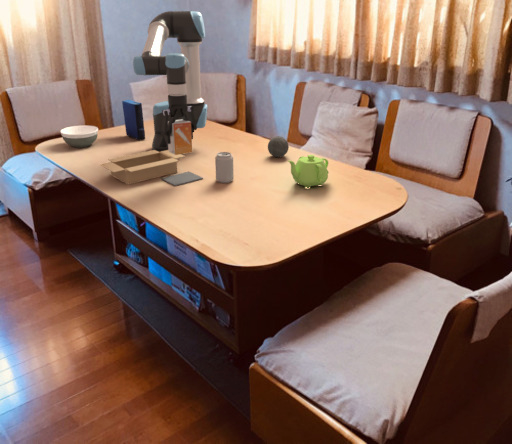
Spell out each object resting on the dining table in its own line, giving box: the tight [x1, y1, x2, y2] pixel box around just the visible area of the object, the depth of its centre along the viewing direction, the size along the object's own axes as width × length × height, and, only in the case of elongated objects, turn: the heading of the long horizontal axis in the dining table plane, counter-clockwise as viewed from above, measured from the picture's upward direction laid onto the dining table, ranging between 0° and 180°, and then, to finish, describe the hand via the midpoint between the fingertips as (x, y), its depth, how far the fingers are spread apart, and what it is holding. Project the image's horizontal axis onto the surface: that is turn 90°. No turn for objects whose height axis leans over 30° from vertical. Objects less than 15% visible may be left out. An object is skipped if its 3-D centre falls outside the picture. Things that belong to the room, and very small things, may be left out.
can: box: [214, 151, 235, 184], centre depth 224 cm, size 8×8×12 cm
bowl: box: [59, 125, 99, 149], centre depth 273 cm, size 19×19×8 cm
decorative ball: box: [267, 135, 289, 158], centre depth 255 cm, size 10×10×10 cm
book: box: [121, 99, 146, 141], centre depth 284 cm, size 14×5×20 cm, turn 42°
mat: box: [160, 171, 204, 187], centre depth 228 cm, size 14×11×1 cm
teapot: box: [288, 154, 329, 188], centre depth 219 cm, size 16×14×13 cm
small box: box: [168, 119, 193, 155], centre depth 220 cm, size 8×6×13 cm
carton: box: [99, 149, 186, 185], centre depth 233 cm, size 34×21×6 cm, turn 129°
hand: (180, 149), depth 222 cm, fingers closed on small box, 8 cm apart
